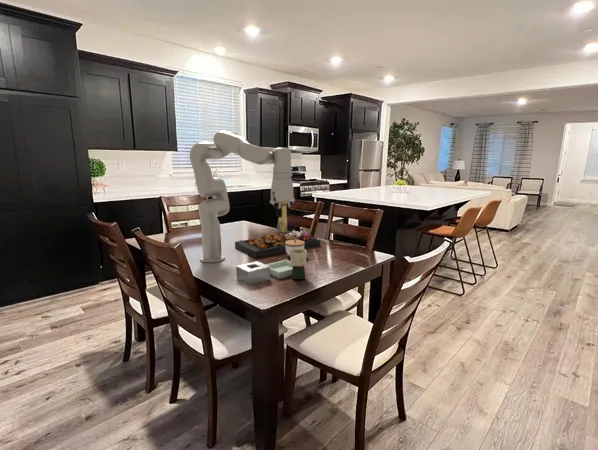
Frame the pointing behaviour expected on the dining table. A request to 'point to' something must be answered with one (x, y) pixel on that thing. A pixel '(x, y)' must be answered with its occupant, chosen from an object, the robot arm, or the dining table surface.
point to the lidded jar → (293, 245)
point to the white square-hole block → (253, 272)
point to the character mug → (298, 263)
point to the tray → (281, 269)
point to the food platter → (273, 243)
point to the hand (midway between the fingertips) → (282, 216)
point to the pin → (283, 217)
